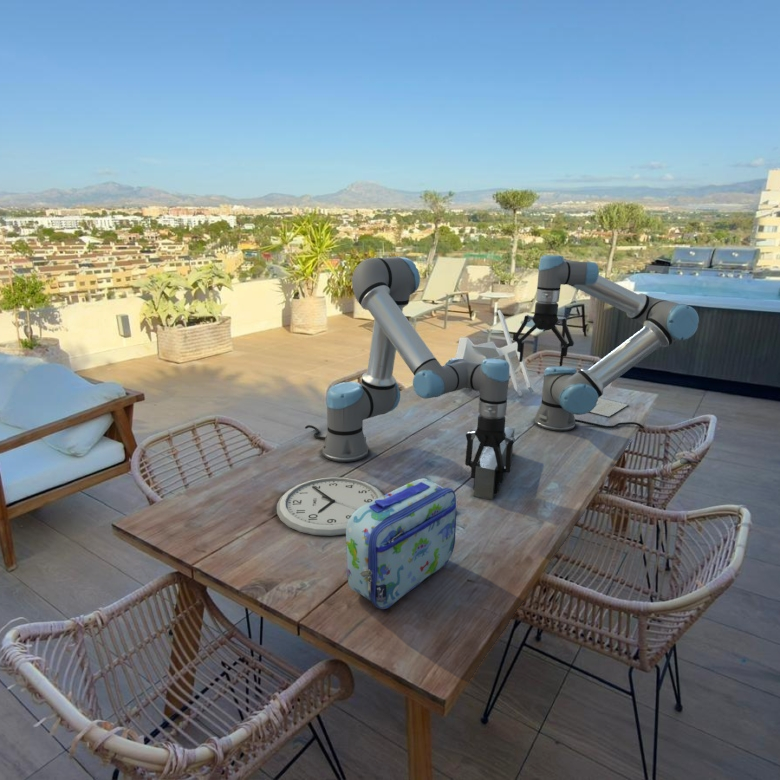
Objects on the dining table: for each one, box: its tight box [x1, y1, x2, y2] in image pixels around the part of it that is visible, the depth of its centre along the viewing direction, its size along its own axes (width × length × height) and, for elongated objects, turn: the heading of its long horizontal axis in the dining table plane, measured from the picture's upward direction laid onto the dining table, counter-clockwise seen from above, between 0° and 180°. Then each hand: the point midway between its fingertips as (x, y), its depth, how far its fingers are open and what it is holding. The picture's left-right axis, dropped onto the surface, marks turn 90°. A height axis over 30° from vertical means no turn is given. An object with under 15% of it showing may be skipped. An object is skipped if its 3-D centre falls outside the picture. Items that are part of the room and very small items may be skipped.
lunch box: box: [345, 477, 457, 610], centre depth 110 cm, size 26×11×21 cm, turn 134°
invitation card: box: [589, 397, 629, 418], centre depth 226 cm, size 21×1×15 cm
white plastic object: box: [454, 309, 535, 397], centre depth 249 cm, size 37×45×31 cm
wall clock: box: [276, 476, 385, 537], centre depth 142 cm, size 30×2×30 cm
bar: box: [473, 426, 516, 500], centre depth 162 cm, size 34×5×9 cm, turn 158°
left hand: (486, 490), depth 152 cm, fingers closed on bar, 5 cm apart
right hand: (540, 363), depth 183 cm, fingers open, 13 cm apart
